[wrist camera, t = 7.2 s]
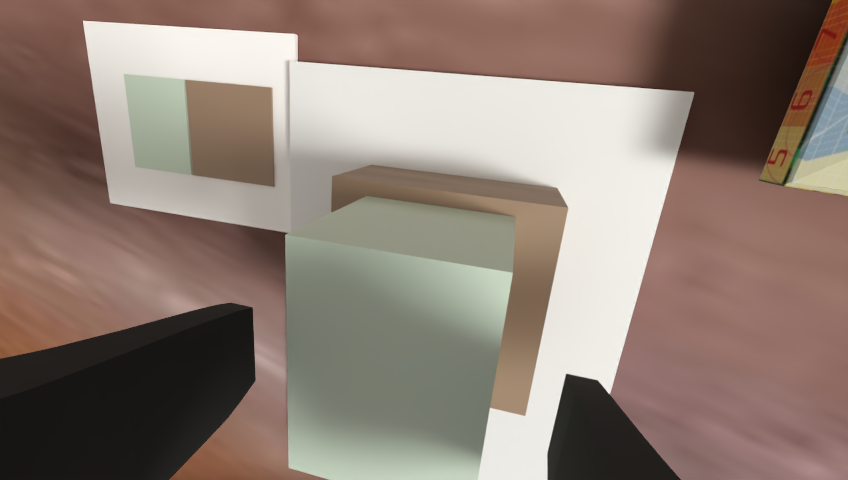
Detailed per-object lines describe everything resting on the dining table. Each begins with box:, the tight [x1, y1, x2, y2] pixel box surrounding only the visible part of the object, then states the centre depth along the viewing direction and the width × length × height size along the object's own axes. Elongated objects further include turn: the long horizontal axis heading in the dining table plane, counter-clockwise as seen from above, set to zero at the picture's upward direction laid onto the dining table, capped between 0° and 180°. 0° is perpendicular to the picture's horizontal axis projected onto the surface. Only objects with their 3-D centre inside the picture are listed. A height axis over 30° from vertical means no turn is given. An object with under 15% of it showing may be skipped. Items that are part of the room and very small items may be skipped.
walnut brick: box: [331, 165, 568, 416], centre depth 14 cm, size 7×7×4 cm
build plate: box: [289, 61, 695, 480], centre depth 17 cm, size 18×14×1 cm
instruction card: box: [83, 21, 298, 233], centre depth 17 cm, size 8×10×1 cm
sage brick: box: [285, 196, 516, 480], centre depth 11 cm, size 6×4×4 cm
